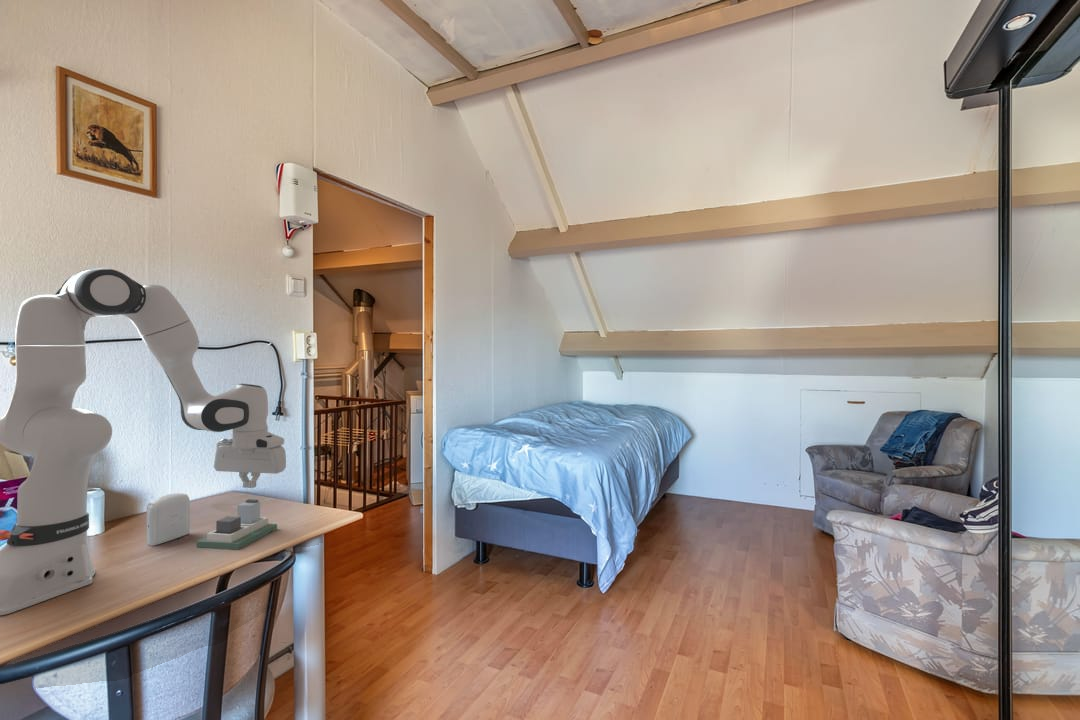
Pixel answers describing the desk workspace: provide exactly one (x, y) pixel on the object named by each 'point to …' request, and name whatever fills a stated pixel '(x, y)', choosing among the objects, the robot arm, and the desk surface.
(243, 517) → the plug
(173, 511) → the photo printer
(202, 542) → the header board
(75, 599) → the desk surface
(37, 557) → the robot arm
